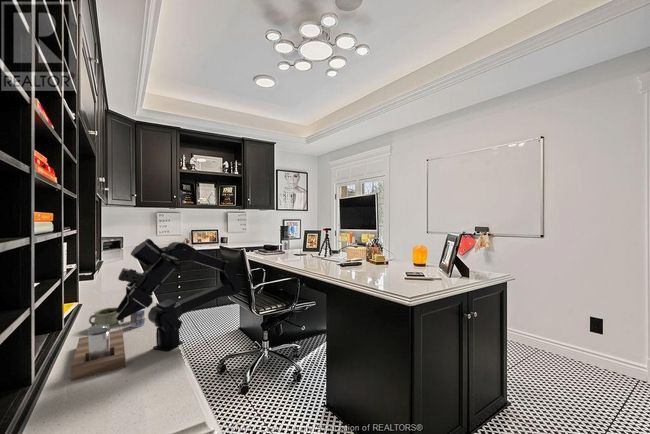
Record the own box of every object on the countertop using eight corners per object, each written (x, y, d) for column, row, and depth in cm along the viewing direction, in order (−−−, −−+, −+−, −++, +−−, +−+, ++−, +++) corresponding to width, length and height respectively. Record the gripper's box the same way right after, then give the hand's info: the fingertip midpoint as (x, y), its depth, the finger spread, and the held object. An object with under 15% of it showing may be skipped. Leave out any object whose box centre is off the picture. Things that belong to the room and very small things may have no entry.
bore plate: (125, 366, 89) (125, 356, 88) (71, 380, 82) (71, 369, 82) (122, 338, 110) (122, 329, 110) (79, 347, 103) (79, 338, 103)
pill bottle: (138, 327, 120) (137, 306, 120) (127, 327, 121) (127, 305, 121) (147, 323, 124) (147, 302, 124) (137, 322, 125) (136, 302, 125)
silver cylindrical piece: (114, 361, 92) (113, 324, 92) (97, 369, 87) (96, 331, 87) (102, 359, 94) (101, 323, 94) (85, 367, 89) (83, 329, 89)
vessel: (127, 320, 129) (126, 305, 129) (125, 326, 121) (124, 310, 121) (91, 325, 123) (90, 310, 123) (86, 333, 116) (86, 316, 116)
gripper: (133, 255, 104) (94, 293, 98) (138, 261, 89) (91, 307, 83) (161, 275, 109) (124, 313, 103) (169, 285, 94) (127, 330, 87)
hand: (117, 315), depth 94 cm, fingers open, 9 cm apart
